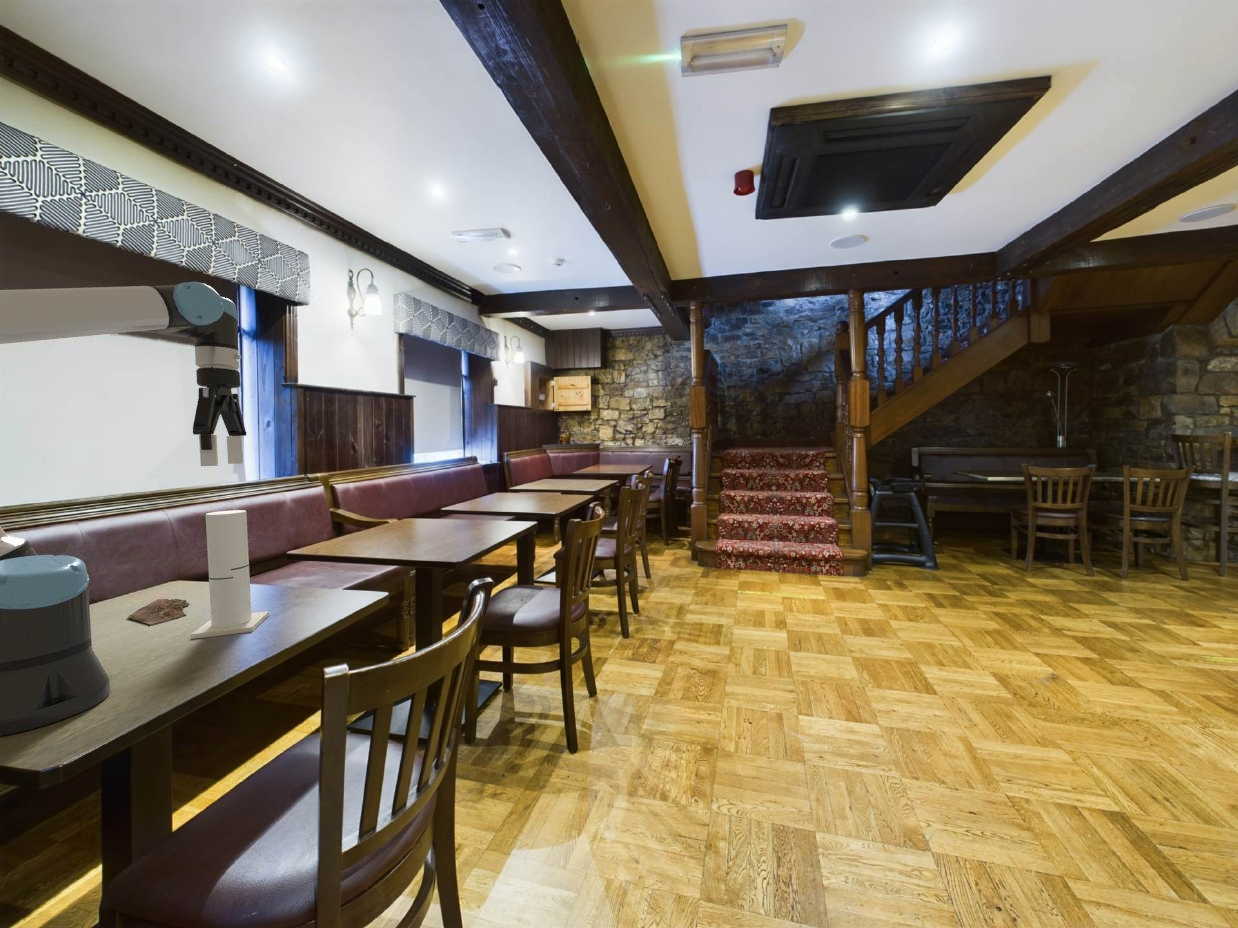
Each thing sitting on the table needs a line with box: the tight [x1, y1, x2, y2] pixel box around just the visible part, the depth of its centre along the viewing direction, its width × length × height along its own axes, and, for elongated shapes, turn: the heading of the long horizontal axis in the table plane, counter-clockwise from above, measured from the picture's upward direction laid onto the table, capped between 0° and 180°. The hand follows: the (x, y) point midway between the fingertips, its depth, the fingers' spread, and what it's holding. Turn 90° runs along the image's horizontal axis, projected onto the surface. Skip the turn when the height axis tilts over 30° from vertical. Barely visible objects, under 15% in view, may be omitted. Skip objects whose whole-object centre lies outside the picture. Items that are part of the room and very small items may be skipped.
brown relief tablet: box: [127, 598, 190, 627], centre depth 123 cm, size 26×11×1 cm, turn 38°
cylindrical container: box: [205, 509, 252, 628], centre depth 111 cm, size 7×7×25 cm
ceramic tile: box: [190, 610, 270, 640], centre depth 112 cm, size 11×11×1 cm
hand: (223, 464), depth 110 cm, fingers open, 13 cm apart
